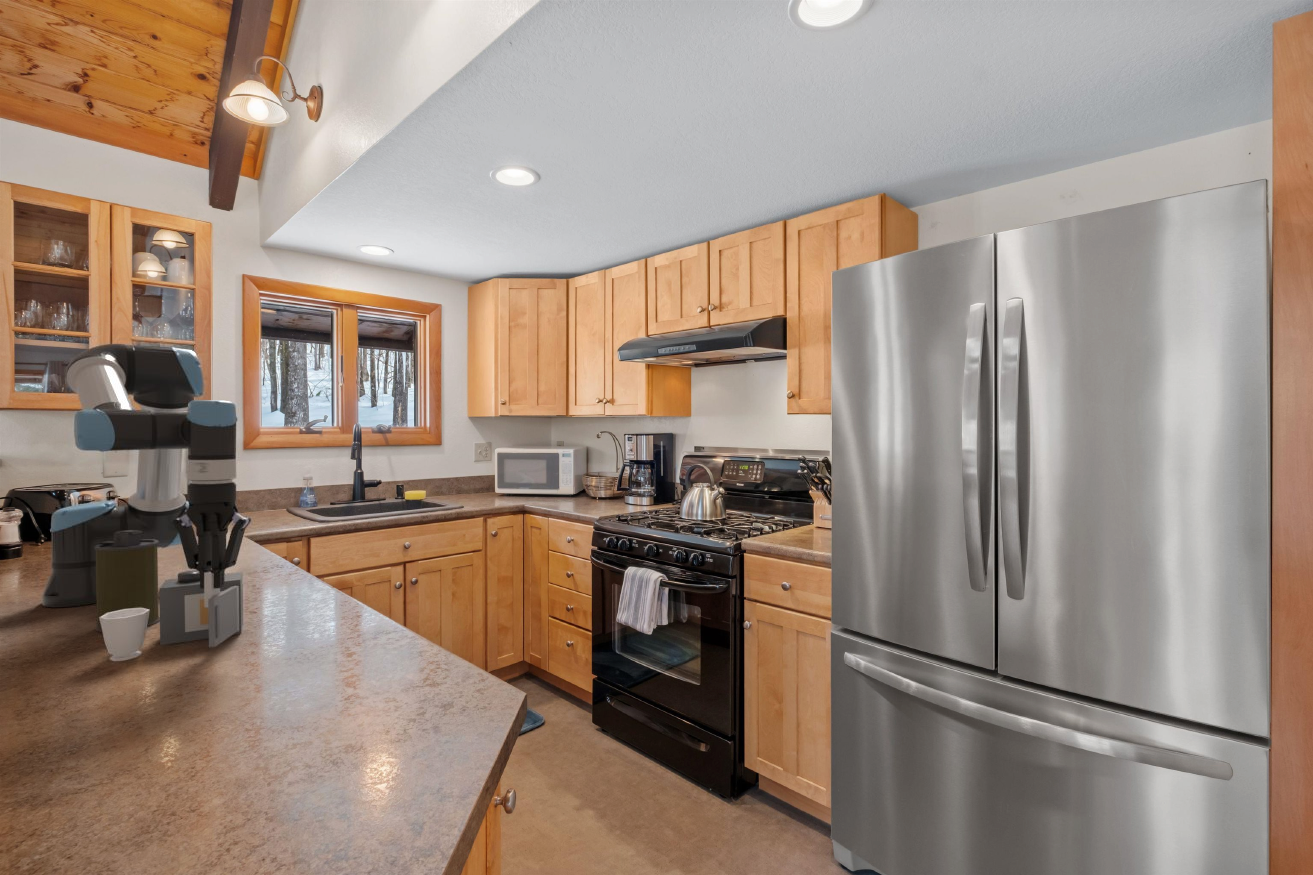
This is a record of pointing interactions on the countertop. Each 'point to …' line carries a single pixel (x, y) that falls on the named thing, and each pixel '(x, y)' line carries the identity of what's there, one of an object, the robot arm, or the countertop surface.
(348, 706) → the countertop surface
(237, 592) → the door
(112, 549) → the canister
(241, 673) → the countertop surface
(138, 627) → the cup
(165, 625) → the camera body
